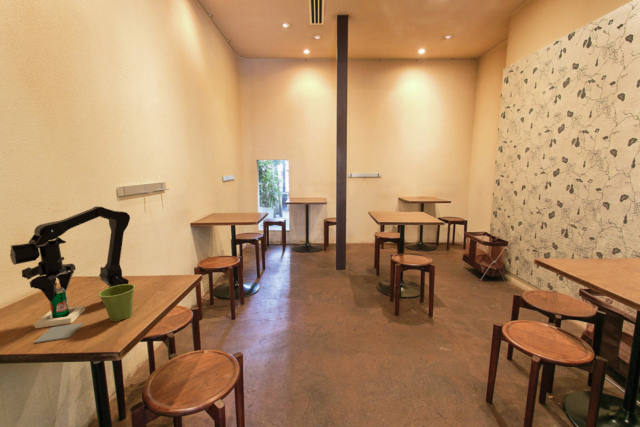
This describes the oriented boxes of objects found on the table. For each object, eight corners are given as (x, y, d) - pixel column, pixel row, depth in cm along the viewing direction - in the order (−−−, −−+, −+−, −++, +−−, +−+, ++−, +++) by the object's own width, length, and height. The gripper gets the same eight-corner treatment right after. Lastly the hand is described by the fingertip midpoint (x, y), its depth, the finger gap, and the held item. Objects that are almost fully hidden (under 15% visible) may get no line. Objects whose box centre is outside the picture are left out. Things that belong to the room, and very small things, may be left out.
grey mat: (83, 323, 112) (83, 322, 112) (69, 337, 103) (69, 336, 102) (51, 328, 109) (51, 327, 109) (34, 343, 100) (34, 342, 100)
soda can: (59, 322, 114) (54, 292, 112) (49, 321, 115) (44, 291, 113) (73, 316, 119) (68, 287, 117) (63, 315, 120) (58, 286, 118)
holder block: (84, 310, 124) (84, 305, 123) (71, 323, 113) (70, 318, 113) (52, 314, 120) (51, 309, 120) (35, 328, 110) (34, 323, 110)
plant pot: (107, 313, 120) (103, 287, 118) (141, 308, 124) (138, 282, 122) (97, 327, 109) (93, 298, 107) (134, 321, 113) (131, 293, 111)
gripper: (40, 252, 120) (46, 289, 122) (7, 267, 102) (15, 309, 104) (73, 249, 123) (79, 285, 125) (46, 263, 105) (54, 304, 107)
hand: (58, 295), depth 115 cm, fingers open, 9 cm apart
